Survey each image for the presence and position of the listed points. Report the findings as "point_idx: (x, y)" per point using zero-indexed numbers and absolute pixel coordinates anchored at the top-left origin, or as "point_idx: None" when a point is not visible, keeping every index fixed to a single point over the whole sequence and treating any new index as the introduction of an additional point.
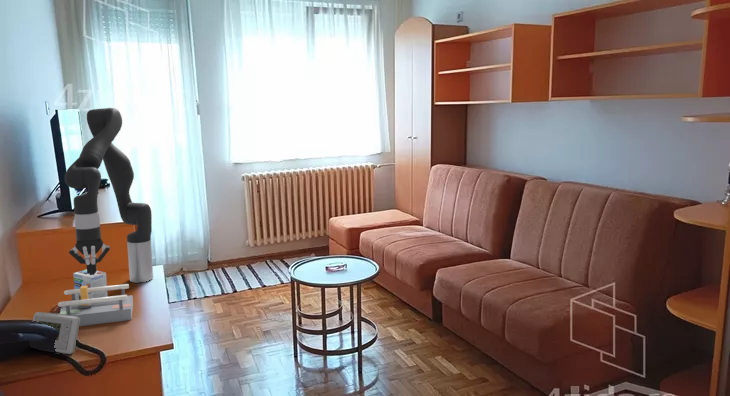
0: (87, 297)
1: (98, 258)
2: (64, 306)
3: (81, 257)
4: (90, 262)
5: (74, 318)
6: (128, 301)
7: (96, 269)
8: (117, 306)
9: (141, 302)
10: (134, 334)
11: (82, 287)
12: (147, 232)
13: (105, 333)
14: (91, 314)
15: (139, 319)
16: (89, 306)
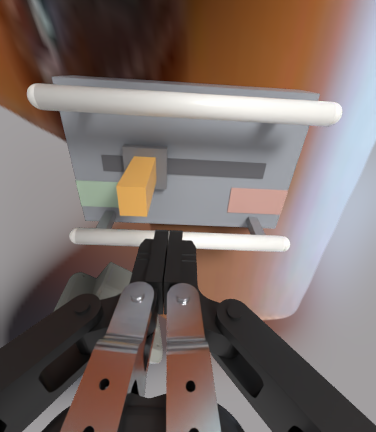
0: (152, 192)
1: (223, 368)
2: (69, 129)
3: (62, 348)
4: (156, 311)
5: (153, 363)
6: (285, 165)
7: (195, 257)
8: (244, 201)
9: (337, 62)
10: (254, 278)
11: (127, 207)
12: None
13: (203, 258)
14: (172, 222)
15: (283, 215)
16: (162, 187)
